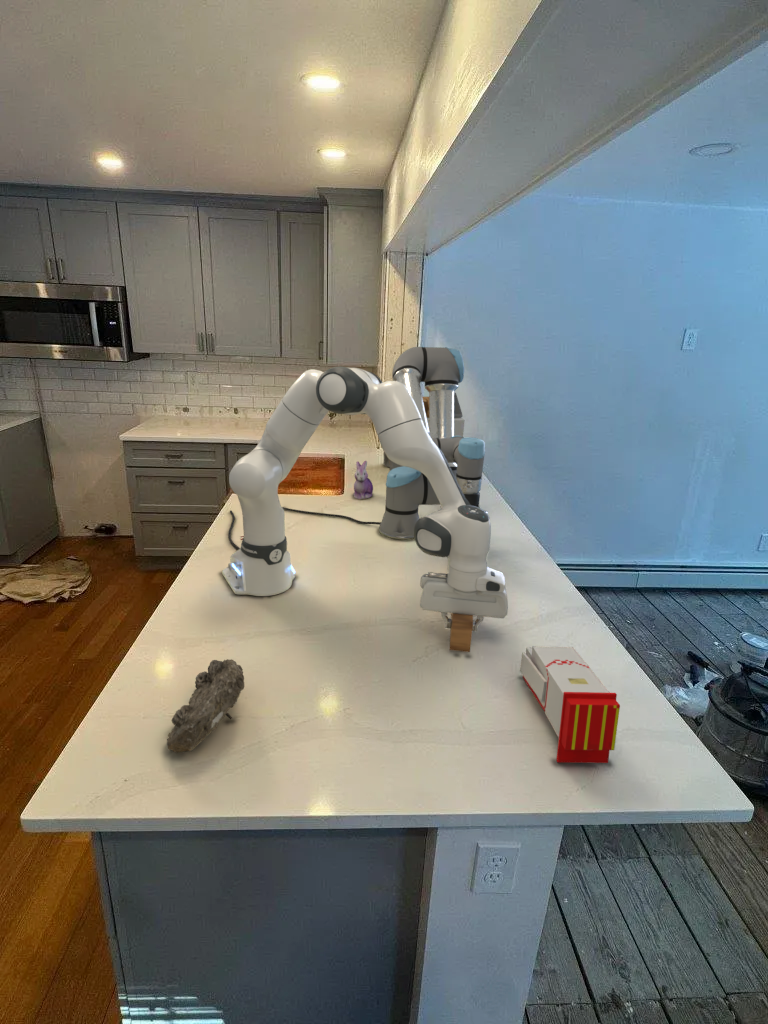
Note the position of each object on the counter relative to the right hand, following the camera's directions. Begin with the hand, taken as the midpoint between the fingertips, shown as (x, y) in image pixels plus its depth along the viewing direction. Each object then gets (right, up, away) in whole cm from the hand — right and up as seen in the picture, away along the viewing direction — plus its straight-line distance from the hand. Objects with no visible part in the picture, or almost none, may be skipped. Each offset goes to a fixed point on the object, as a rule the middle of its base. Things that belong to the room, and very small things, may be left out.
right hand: (460, 562), depth 176 cm
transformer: (-6, +34, +99) cm, 105 cm away
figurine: (-33, +22, +62) cm, 73 cm away
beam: (-3, -8, -20) cm, 22 cm away
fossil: (-56, -24, -68) cm, 91 cm away
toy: (+11, -25, -62) cm, 68 cm away
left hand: (-5, -12, -41) cm, 43 cm away
